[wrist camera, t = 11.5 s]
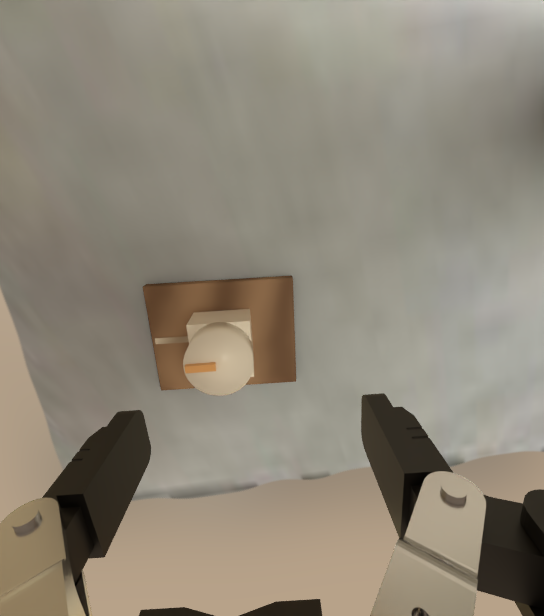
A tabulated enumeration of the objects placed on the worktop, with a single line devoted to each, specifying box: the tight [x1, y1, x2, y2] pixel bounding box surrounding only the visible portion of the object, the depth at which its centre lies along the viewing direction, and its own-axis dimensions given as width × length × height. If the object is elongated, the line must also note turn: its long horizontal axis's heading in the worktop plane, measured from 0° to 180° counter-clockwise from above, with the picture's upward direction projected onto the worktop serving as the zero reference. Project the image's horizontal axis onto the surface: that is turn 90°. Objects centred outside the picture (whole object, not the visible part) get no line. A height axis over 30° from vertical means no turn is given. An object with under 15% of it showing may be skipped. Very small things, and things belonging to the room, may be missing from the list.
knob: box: [183, 309, 254, 396], centre depth 28 cm, size 6×6×6 cm
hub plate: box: [143, 276, 296, 390], centre depth 30 cm, size 14×11×4 cm
